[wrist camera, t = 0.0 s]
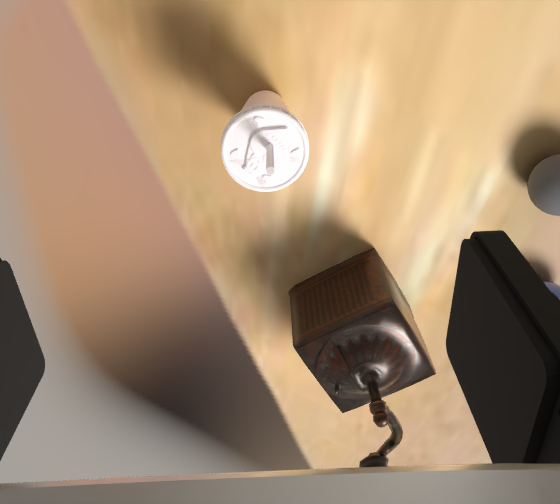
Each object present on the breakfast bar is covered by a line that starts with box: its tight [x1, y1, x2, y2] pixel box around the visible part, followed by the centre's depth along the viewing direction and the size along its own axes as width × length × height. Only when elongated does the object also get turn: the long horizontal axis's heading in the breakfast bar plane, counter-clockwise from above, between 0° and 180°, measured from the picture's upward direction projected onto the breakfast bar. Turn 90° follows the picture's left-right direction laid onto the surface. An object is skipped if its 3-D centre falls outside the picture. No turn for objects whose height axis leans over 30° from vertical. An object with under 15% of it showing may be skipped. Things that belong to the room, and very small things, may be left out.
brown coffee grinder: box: [288, 248, 436, 468], centre depth 51 cm, size 16×11×18 cm
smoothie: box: [221, 90, 309, 192], centre depth 40 cm, size 6×6×14 cm
